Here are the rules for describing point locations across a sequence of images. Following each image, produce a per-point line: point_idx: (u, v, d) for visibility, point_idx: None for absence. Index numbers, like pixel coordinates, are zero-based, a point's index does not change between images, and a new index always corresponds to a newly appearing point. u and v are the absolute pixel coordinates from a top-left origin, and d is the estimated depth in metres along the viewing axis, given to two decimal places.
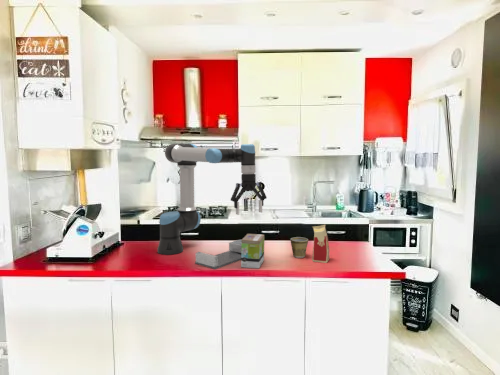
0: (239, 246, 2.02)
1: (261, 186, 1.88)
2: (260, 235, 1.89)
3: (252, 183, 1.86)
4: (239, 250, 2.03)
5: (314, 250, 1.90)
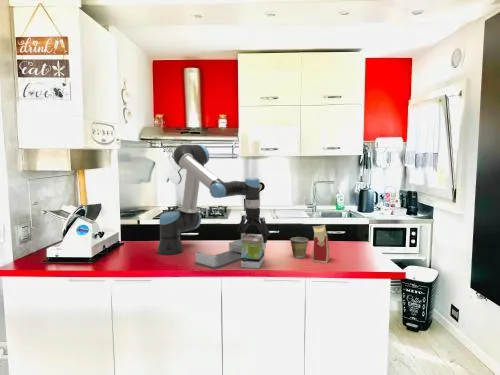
0: (239, 246, 2.02)
1: (262, 222, 1.79)
2: (260, 235, 1.89)
3: (254, 217, 1.83)
4: (239, 250, 2.03)
5: (314, 250, 1.90)
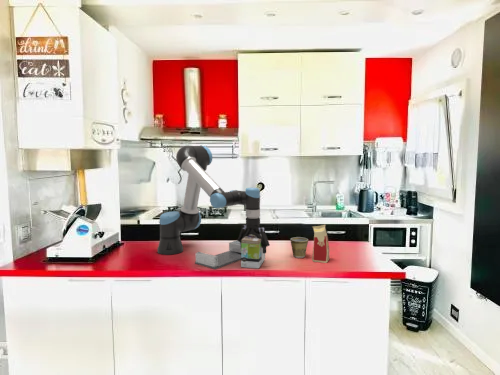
0: (239, 246, 2.02)
1: (262, 232, 1.80)
2: None
3: (254, 227, 1.83)
4: (239, 250, 2.03)
5: (314, 250, 1.90)
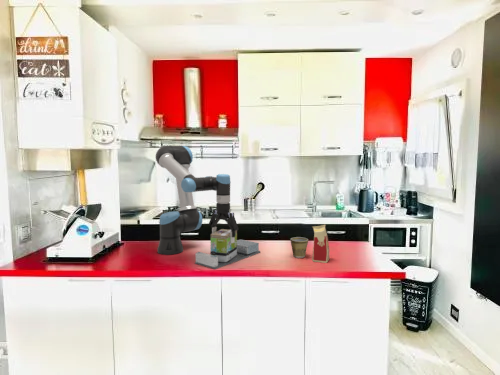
0: (239, 246, 2.02)
1: (231, 217, 1.87)
2: None
3: (224, 212, 1.90)
4: (239, 250, 2.03)
5: (314, 250, 1.90)
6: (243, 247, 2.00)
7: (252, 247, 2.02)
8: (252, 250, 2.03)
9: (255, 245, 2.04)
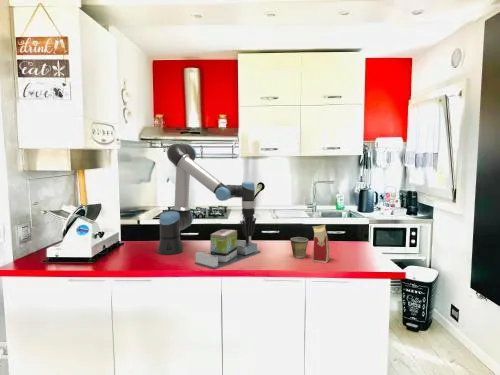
0: (237, 247, 2.01)
1: None
2: (232, 231, 1.95)
3: (252, 215, 2.10)
4: (237, 251, 2.01)
5: (314, 250, 1.90)
6: (241, 248, 1.99)
7: (250, 247, 2.01)
8: (251, 251, 2.02)
9: (253, 246, 2.03)
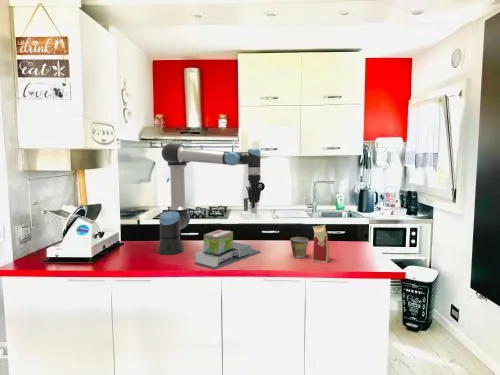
0: None
1: None
2: (227, 232, 1.93)
3: (258, 181, 2.13)
4: None
5: (314, 250, 1.90)
6: (235, 250, 1.95)
7: (244, 250, 1.97)
8: (245, 253, 1.97)
9: (247, 248, 1.99)
